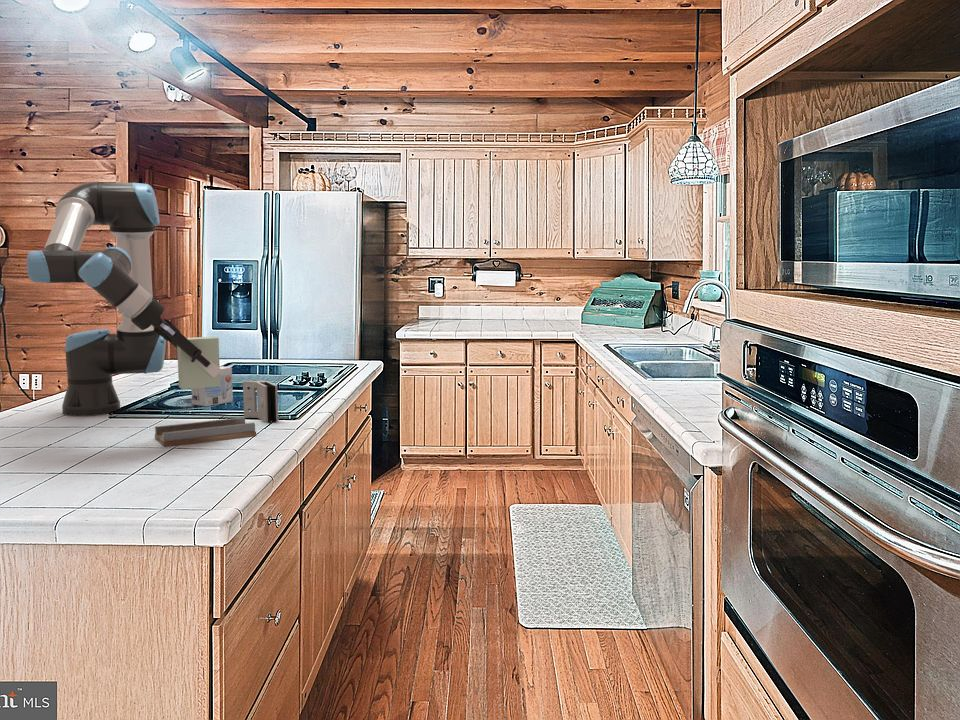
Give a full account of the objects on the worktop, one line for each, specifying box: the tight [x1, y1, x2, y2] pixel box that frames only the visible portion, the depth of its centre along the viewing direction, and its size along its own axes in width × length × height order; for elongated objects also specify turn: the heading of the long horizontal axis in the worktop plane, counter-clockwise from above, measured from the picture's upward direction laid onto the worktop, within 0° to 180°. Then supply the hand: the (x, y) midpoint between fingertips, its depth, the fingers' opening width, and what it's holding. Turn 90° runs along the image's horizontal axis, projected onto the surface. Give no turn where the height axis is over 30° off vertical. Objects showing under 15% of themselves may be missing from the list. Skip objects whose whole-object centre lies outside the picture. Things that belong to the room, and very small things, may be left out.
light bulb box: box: [190, 365, 234, 407], centre depth 254 cm, size 11×7×11 cm, turn 147°
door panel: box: [176, 336, 221, 390], centre depth 206 cm, size 4×9×12 cm, turn 122°
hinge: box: [242, 380, 279, 424], centre depth 232 cm, size 14×5×10 cm, turn 43°
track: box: [154, 416, 257, 448], centre depth 209 cm, size 11×22×3 cm, turn 123°
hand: (214, 372), depth 208 cm, fingers closed on door panel, 4 cm apart
